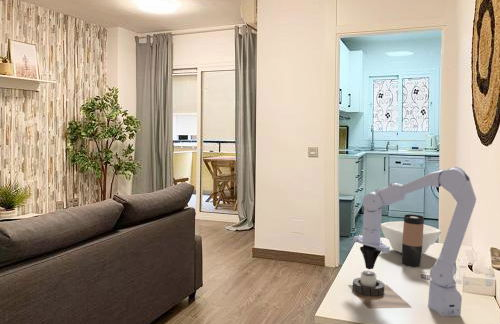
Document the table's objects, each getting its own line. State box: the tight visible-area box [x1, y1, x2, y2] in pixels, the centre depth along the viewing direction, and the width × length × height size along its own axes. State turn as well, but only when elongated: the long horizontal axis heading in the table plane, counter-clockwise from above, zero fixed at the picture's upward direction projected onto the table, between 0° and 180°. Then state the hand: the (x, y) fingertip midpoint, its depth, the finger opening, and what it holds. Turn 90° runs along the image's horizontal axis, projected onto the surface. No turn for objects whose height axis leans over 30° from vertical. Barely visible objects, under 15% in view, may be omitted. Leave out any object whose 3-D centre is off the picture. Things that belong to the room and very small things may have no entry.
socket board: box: [347, 276, 412, 309], centre depth 136 cm, size 18×14×4 cm
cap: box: [360, 270, 377, 287], centre depth 140 cm, size 5×5×6 cm
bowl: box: [381, 220, 442, 255], centre depth 188 cm, size 22×22×12 cm
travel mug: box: [401, 214, 425, 268], centre depth 171 cm, size 8×8×20 cm
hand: (369, 268), depth 140 cm, fingers closed
